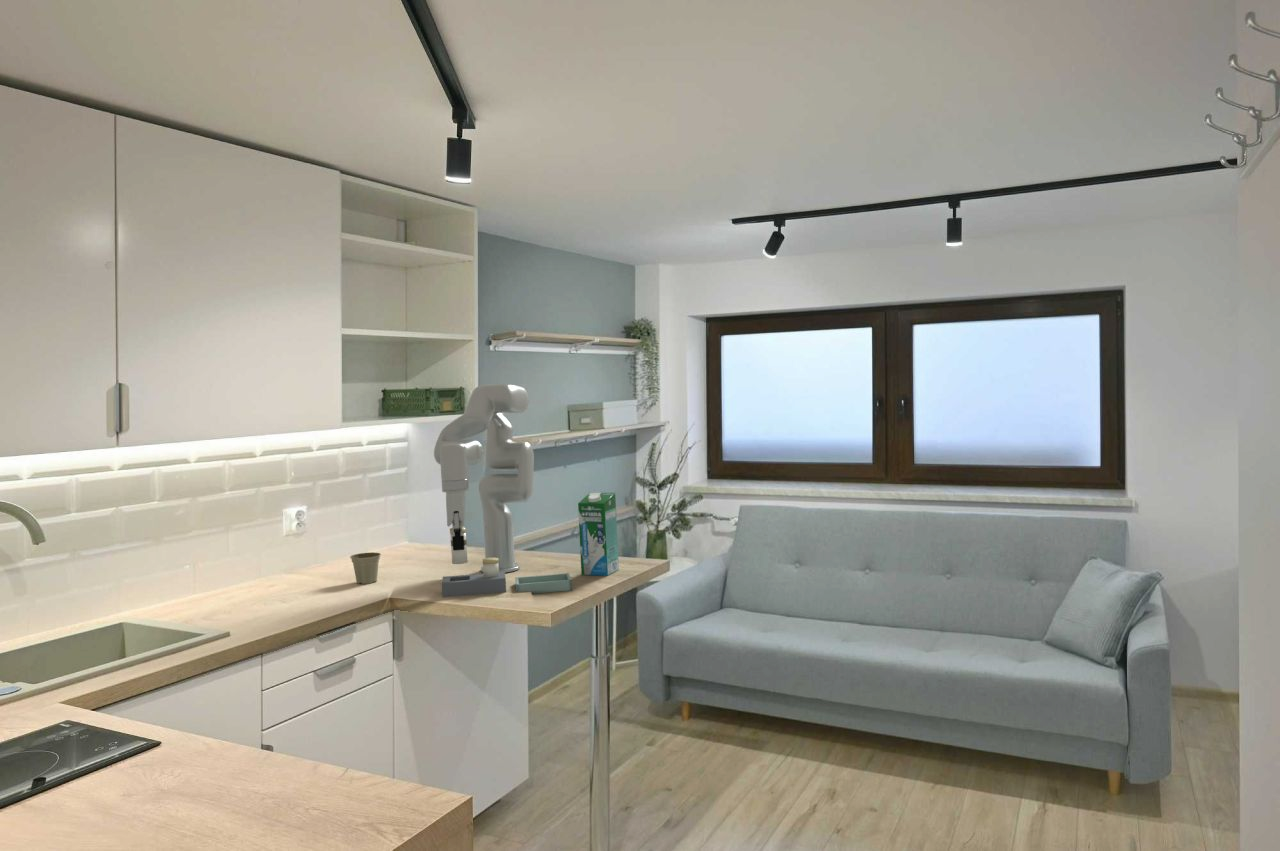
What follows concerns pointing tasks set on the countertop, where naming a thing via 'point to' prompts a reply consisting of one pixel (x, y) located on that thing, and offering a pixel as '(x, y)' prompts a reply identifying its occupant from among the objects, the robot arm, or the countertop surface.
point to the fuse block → (476, 581)
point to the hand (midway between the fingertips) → (459, 547)
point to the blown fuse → (459, 555)
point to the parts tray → (544, 583)
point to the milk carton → (598, 534)
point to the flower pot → (366, 567)
